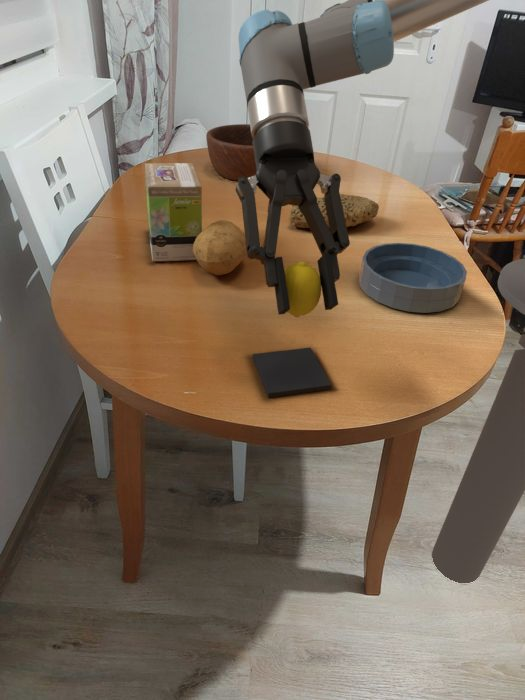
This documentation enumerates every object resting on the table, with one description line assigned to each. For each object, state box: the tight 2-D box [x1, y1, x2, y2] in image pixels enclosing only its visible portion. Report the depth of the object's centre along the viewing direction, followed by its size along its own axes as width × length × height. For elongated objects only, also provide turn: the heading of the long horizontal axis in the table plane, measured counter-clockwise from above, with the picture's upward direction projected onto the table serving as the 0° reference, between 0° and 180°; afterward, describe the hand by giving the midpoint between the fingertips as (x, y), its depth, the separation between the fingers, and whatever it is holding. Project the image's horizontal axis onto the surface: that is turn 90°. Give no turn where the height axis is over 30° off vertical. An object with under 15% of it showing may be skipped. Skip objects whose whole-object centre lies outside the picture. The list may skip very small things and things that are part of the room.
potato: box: [193, 219, 247, 276], centre depth 96 cm, size 10×14×8 cm
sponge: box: [289, 193, 380, 229], centre depth 117 cm, size 13×8×20 cm
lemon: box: [284, 260, 322, 318], centre depth 66 cm, size 6×6×8 cm
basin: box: [358, 242, 468, 314], centre depth 94 cm, size 18×18×5 cm
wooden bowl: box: [205, 123, 256, 182], centre depth 145 cm, size 25×25×10 cm
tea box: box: [144, 162, 203, 262], centre depth 102 cm, size 15×10×15 cm, turn 12°
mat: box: [251, 347, 333, 399], centre depth 73 cm, size 9×9×1 cm
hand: (308, 309), depth 63 cm, fingers closed on lemon, 5 cm apart
